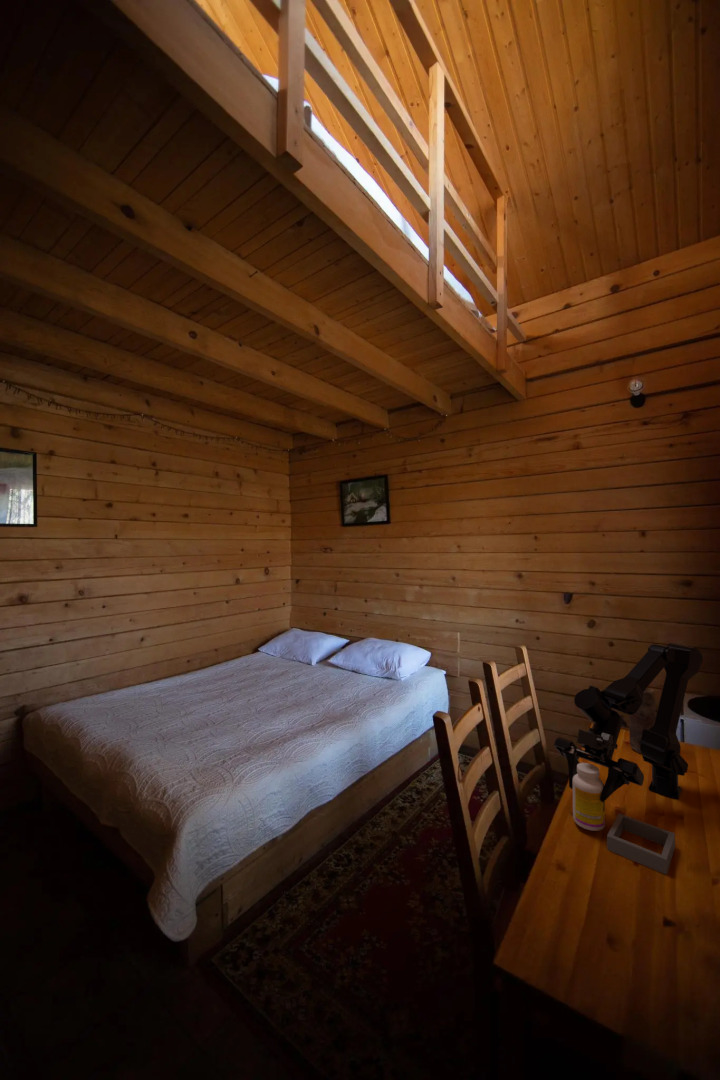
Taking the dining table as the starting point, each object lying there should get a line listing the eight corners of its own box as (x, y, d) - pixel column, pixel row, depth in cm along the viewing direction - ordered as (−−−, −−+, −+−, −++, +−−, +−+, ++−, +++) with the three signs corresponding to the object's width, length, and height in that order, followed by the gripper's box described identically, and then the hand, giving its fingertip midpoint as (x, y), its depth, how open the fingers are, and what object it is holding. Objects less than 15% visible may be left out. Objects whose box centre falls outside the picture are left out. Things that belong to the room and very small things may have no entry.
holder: (619, 825, 101) (619, 813, 101) (675, 847, 94) (674, 833, 94) (607, 849, 93) (606, 835, 93) (666, 875, 86) (666, 859, 86)
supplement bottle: (609, 834, 97) (608, 777, 97) (577, 830, 98) (576, 774, 98) (599, 815, 103) (598, 761, 103) (569, 812, 105) (568, 759, 105)
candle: (623, 744, 141) (623, 683, 141) (645, 743, 141) (644, 682, 142) (640, 756, 133) (640, 691, 133) (663, 755, 134) (662, 690, 134)
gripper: (555, 704, 111) (534, 762, 104) (637, 728, 96) (618, 797, 89) (571, 726, 116) (551, 783, 109) (651, 752, 101) (634, 819, 94)
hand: (585, 794), depth 100 cm, fingers closed on supplement bottle, 7 cm apart
